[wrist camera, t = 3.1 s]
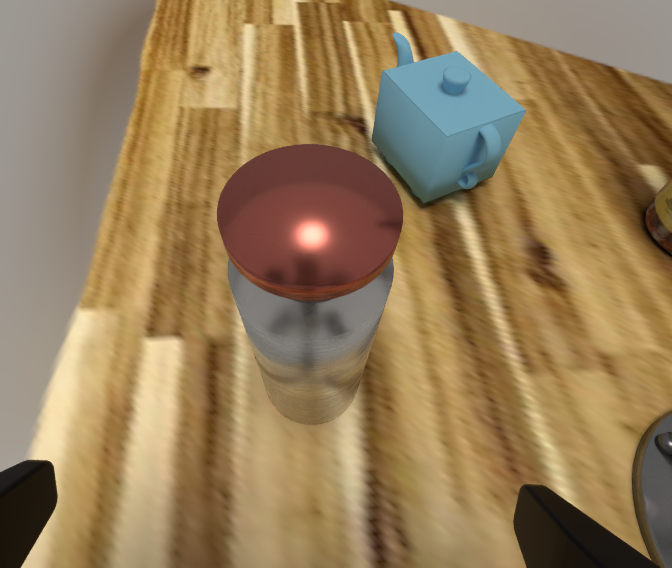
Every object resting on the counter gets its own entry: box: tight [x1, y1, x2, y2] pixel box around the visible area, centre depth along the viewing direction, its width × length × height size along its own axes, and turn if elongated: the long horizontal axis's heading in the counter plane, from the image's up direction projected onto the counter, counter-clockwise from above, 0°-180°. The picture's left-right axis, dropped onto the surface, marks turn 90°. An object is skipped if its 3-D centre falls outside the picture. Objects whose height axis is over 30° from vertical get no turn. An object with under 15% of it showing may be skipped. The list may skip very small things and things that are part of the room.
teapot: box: [372, 33, 526, 203], centre depth 28 cm, size 12×6×8 cm, turn 28°
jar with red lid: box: [217, 144, 403, 424], centre depth 16 cm, size 5×5×14 cm
